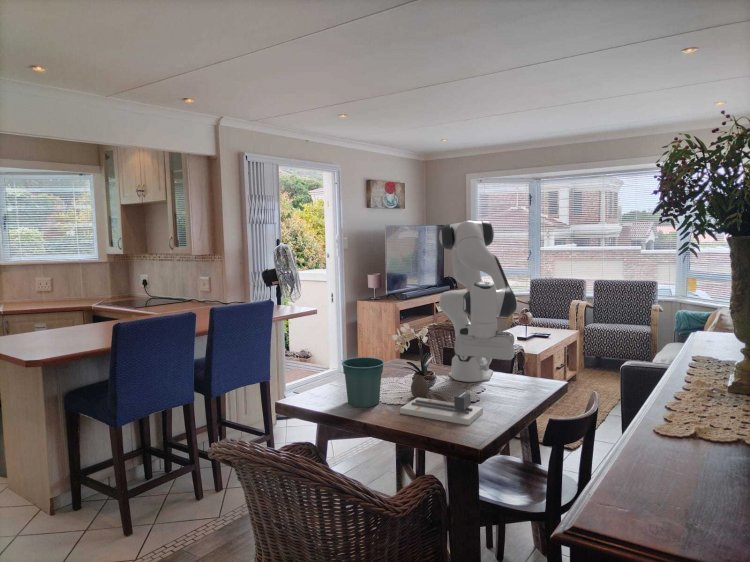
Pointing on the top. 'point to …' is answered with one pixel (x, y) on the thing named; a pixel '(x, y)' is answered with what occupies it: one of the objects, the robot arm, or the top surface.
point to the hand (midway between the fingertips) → (484, 370)
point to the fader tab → (462, 401)
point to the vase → (419, 387)
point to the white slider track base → (441, 411)
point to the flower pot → (363, 380)
